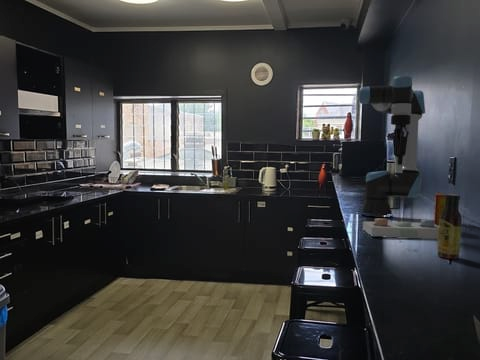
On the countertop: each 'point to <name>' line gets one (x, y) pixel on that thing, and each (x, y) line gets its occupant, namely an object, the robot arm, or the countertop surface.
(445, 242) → the sauce bottle
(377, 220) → the terracotta button
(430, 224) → the slate button
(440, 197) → the baking soda box
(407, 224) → the sage button
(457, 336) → the countertop surface
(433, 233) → the button console
